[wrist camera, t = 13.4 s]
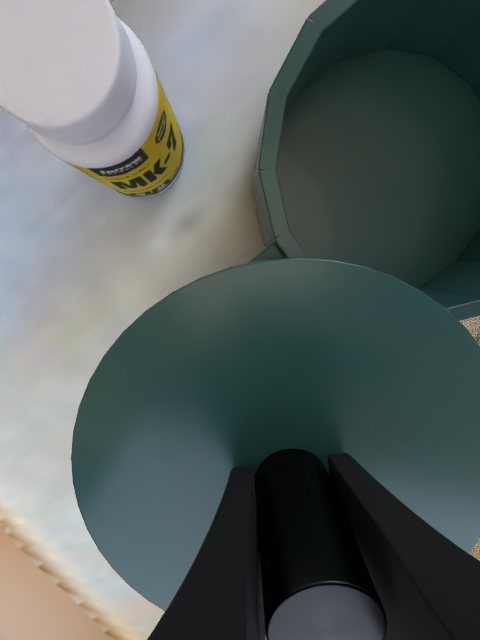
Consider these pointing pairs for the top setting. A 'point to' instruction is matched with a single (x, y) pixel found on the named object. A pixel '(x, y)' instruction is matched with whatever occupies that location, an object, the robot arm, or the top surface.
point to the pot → (379, 145)
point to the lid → (280, 431)
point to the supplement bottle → (89, 93)
